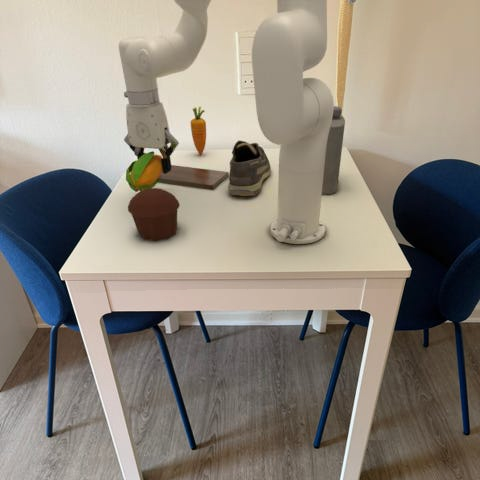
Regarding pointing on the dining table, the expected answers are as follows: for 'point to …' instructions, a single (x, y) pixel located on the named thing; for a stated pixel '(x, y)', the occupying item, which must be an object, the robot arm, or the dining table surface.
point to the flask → (333, 152)
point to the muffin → (154, 213)
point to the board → (193, 177)
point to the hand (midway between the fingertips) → (155, 170)
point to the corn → (144, 172)
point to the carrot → (198, 130)
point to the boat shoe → (247, 169)
